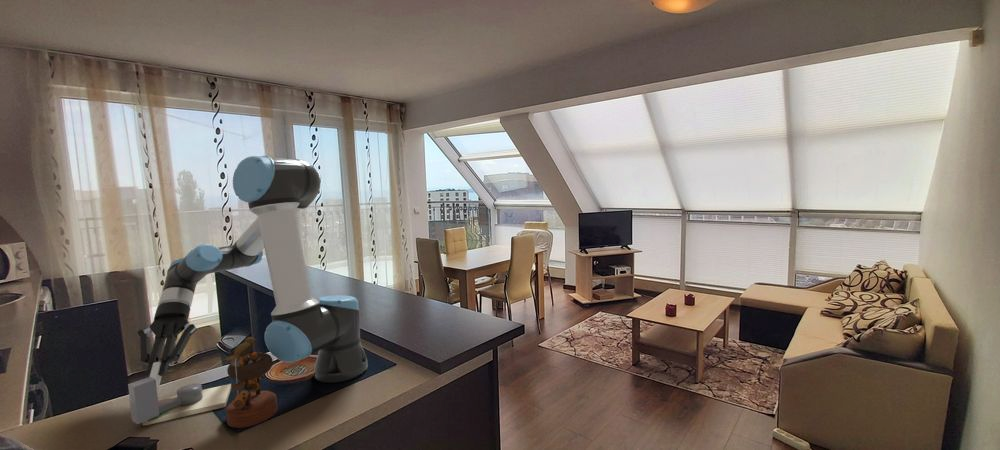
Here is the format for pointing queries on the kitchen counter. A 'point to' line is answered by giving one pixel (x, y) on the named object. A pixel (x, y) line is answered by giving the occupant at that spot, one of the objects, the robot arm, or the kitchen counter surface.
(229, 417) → the music box
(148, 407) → the grey block with ball
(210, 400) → the board
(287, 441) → the kitchen counter surface
